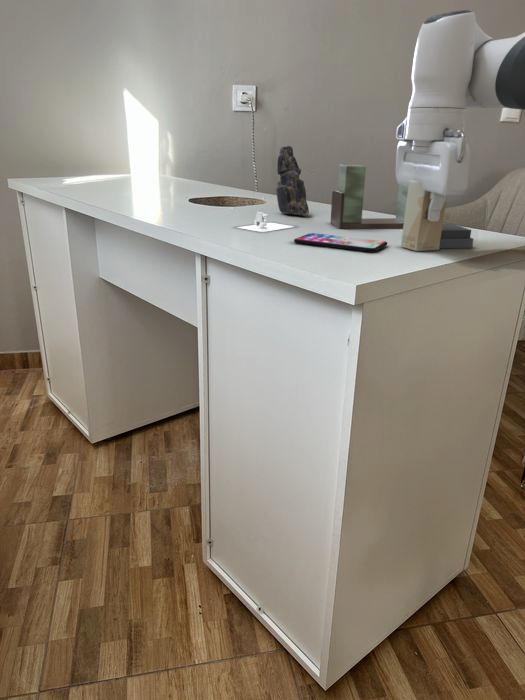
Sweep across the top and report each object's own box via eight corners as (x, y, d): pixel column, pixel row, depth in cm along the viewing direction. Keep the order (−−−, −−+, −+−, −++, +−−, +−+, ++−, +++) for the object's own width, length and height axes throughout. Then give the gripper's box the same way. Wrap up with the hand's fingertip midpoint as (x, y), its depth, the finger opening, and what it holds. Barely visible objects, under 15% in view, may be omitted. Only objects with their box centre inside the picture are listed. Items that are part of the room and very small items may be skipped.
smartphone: (374, 249, 90) (291, 239, 97) (374, 253, 90) (291, 242, 97) (389, 241, 96) (310, 232, 103) (388, 245, 96) (310, 235, 103)
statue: (295, 218, 124) (298, 147, 119) (270, 211, 134) (271, 145, 129) (316, 217, 127) (320, 147, 121) (290, 210, 137) (292, 145, 131)
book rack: (414, 222, 122) (421, 165, 117) (428, 228, 115) (435, 167, 111) (330, 223, 119) (334, 164, 114) (339, 228, 112) (343, 166, 108)
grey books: (451, 239, 103) (453, 223, 102) (472, 247, 96) (474, 230, 95) (420, 239, 103) (422, 223, 101) (439, 248, 95) (441, 230, 94)
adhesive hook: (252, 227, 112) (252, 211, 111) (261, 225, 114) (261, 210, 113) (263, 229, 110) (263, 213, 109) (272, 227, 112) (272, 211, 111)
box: (416, 252, 92) (424, 182, 88) (399, 247, 96) (407, 180, 91) (440, 249, 94) (450, 181, 90) (423, 245, 98) (432, 179, 94)
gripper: (487, 129, 79) (471, 228, 84) (427, 129, 97) (417, 209, 103) (445, 128, 78) (432, 228, 83) (392, 128, 97) (384, 209, 102)
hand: (423, 217), depth 93 cm, fingers closed on box, 5 cm apart
